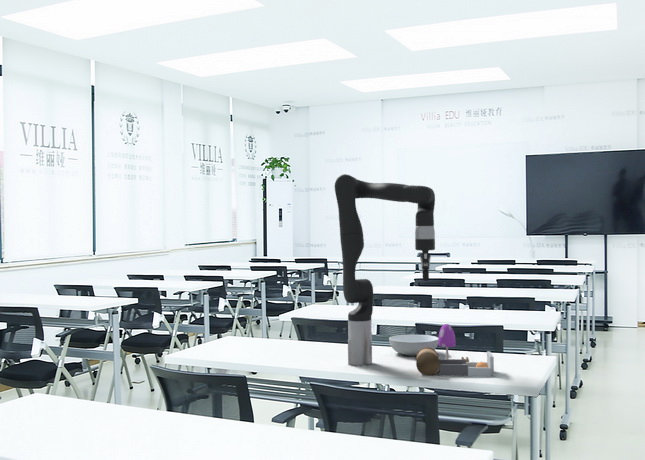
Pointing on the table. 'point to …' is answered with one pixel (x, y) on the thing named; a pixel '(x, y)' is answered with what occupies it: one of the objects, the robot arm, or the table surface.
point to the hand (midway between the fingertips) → (425, 279)
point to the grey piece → (466, 367)
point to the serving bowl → (412, 343)
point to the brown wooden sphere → (427, 361)
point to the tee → (466, 359)
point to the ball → (482, 365)
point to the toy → (446, 337)
